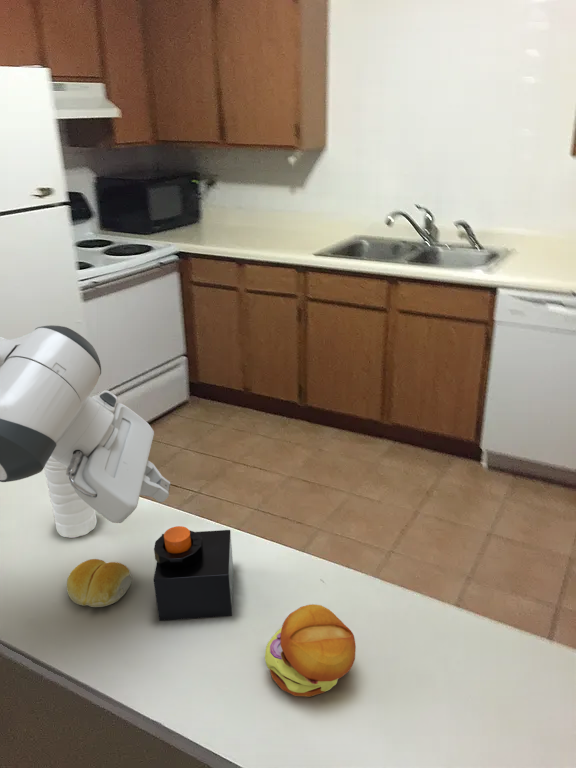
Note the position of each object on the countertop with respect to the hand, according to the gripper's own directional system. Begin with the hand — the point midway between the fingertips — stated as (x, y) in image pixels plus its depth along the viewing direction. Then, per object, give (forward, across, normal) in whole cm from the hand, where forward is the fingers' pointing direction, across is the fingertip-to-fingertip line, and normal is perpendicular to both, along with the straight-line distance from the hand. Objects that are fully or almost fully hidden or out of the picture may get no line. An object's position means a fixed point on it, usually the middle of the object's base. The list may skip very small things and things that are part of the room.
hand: (167, 493), depth 90 cm
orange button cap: (+6, -1, +5) cm, 8 cm away
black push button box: (+14, -1, +10) cm, 17 cm away
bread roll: (+4, +1, +20) cm, 21 cm away
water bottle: (0, +18, +24) cm, 30 cm away
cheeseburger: (+24, -16, -1) cm, 29 cm away
